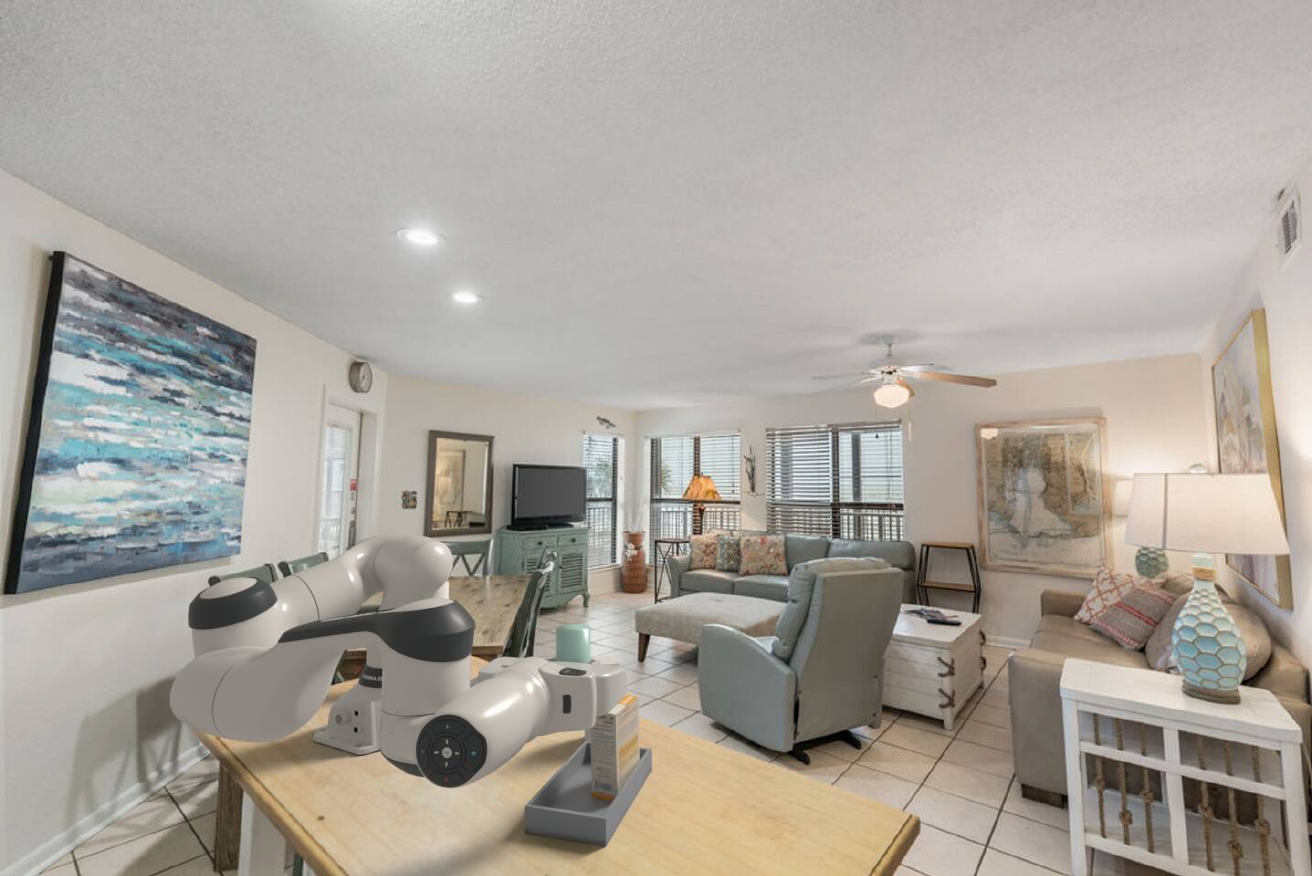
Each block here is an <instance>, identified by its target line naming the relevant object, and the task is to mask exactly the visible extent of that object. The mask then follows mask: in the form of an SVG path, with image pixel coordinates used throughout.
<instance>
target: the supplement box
mask: <svg viewBox="0 0 1312 876" xmlns="http://www.w3.org/2000/svg"><path fill="white" fill-rule="evenodd" d="M639 697H640V696H639V695H636V694H630V693H627V694H626V695H625V697H624V698H623V699H622V700H621V701H620V702H619V703H618V704H617V705H616V706H615V707H614V708H613V709H612V710H610V711H609V712H608V713H606V714H604V715H602V716H599V717H596V722H595V725H594V726H593V727H592V728H591V785H592V797H594V798H599V799H603V800H607V801H612V802H613V801H614V799H615V797H616V796H617V794H618V793H619V791H620V790H621V788H622V787H623V785H624V784H625V782H626V781H627V779H628V778H629V776H630V775H631V773H632V772H633V770H634V769H635V767H636V766H637V764H638V763H639V761H640V750H639V747H640V711H639V710H640V706H639V705H640V703H639V701H640V700H639V699H640V698H639Z"/></svg>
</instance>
